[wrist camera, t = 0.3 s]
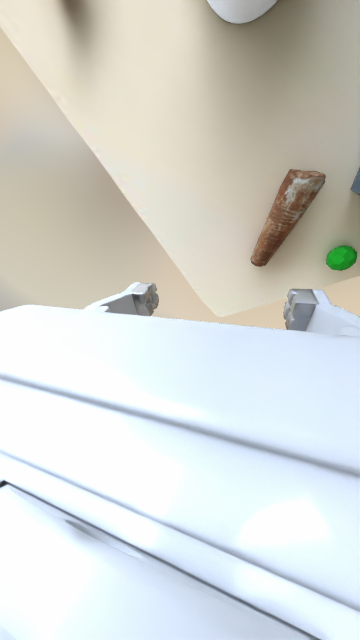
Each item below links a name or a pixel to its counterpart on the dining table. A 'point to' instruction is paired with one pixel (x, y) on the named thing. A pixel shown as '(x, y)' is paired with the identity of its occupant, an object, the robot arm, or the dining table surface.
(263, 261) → the bread
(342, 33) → the dining table surface
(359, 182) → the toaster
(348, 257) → the polyhedron
